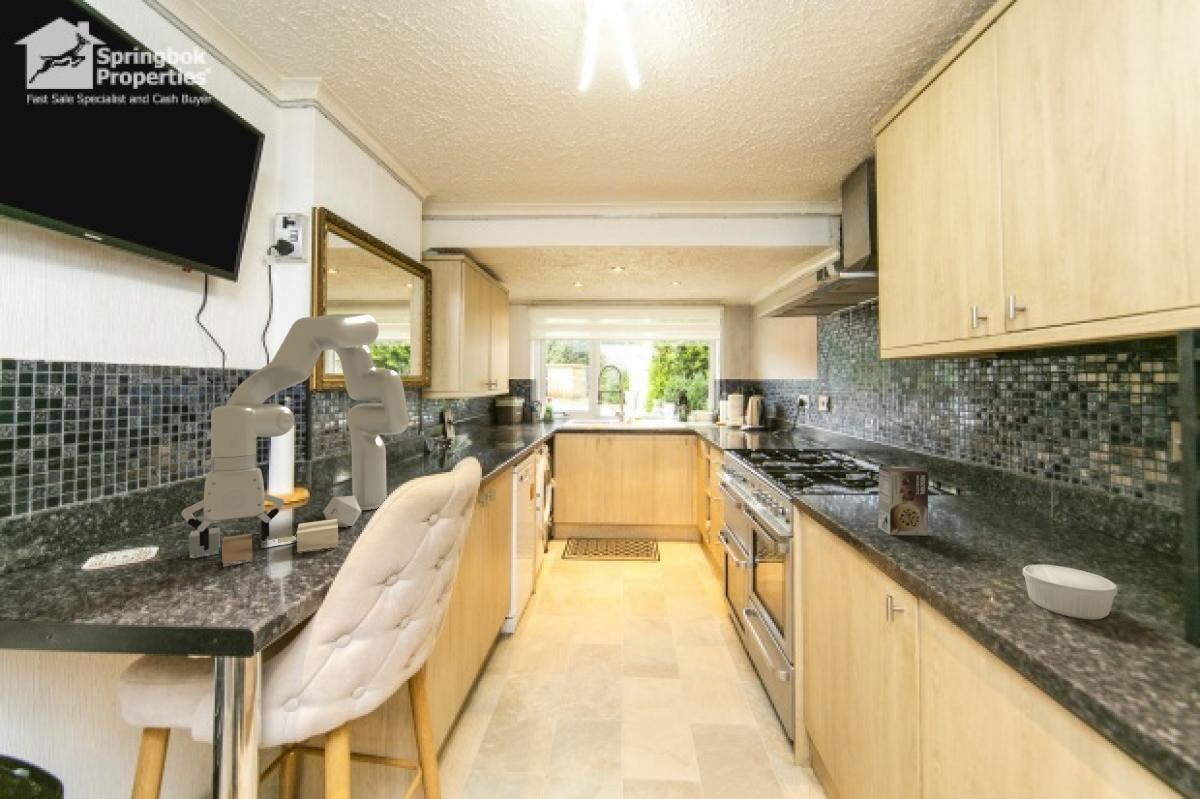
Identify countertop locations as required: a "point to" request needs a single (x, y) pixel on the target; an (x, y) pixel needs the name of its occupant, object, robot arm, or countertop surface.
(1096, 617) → the ramekin
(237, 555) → the walnut block
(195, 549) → the slate block
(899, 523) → the cookie box
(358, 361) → the robot arm
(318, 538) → the birch base block
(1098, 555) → the countertop surface
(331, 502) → the die
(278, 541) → the card
